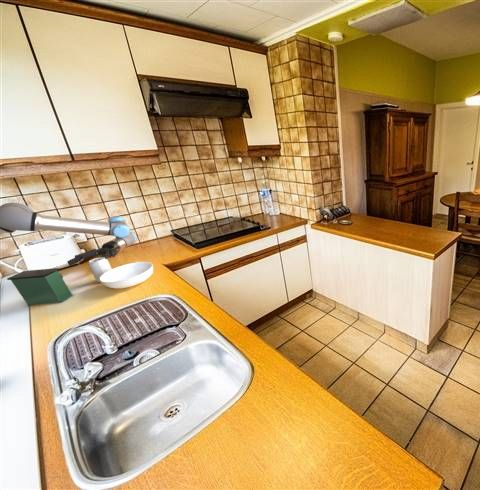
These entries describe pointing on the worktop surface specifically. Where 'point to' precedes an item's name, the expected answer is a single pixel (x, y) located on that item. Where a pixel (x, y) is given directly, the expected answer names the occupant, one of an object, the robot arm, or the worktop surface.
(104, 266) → the can
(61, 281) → the box
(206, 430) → the worktop surface
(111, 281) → the serving bowl
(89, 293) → the worktop surface
